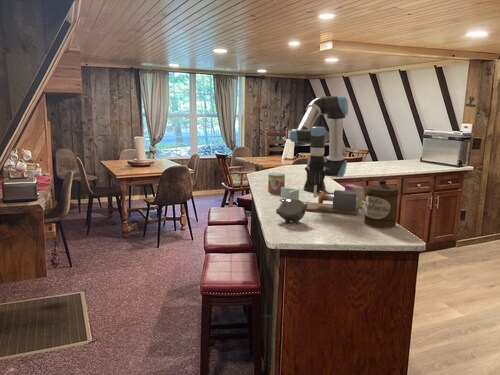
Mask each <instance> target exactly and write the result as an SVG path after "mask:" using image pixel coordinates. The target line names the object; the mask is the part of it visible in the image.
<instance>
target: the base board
mask: <svg viewBox="0 0 500 375" xmlns="http://www.w3.org/2000/svg"><path fill="white" fill-rule="evenodd" d="M302 202H303V203H304V204H307V205H308V206H307V208H306V211H305V212H311V213H323V214H335V215H345V216H346V215H347V216H358V210H359V207H358V206H356V210H355V211H351V210H339V209H333V203H324V202H323V204H321V203H318V202H310V201H302Z"/></svg>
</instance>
